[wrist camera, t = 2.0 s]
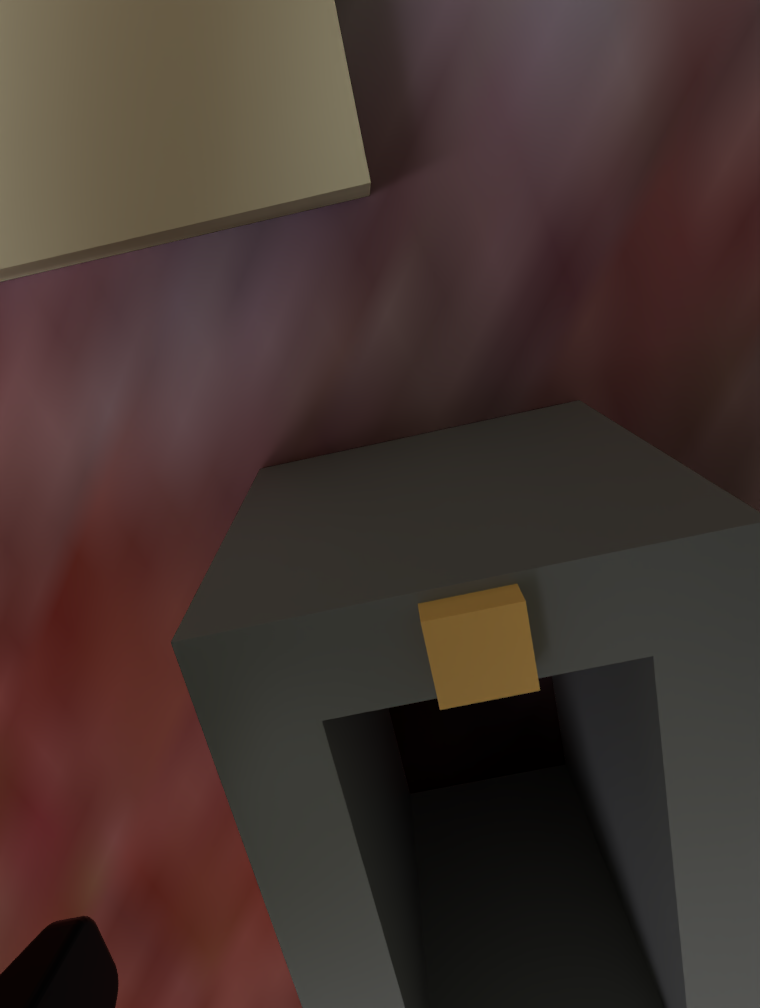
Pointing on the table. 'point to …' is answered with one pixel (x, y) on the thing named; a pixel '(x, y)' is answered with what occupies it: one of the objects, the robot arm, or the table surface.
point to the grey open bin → (482, 677)
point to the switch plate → (166, 123)
